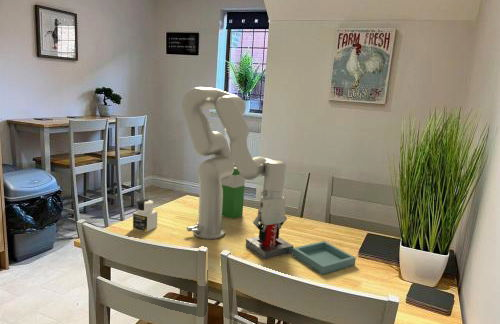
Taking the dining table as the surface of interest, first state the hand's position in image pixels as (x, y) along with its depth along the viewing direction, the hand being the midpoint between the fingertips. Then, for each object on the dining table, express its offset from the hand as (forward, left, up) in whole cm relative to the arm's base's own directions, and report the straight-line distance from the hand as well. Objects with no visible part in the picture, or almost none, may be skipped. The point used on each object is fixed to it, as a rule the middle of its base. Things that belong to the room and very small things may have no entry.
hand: (268, 238), depth 138 cm
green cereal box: (+4, +44, -5) cm, 44 cm away
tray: (+13, -16, -4) cm, 22 cm away
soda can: (0, 0, -4) cm, 4 cm away
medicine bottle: (-36, +39, -5) cm, 53 cm away
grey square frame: (0, 0, -4) cm, 4 cm away
